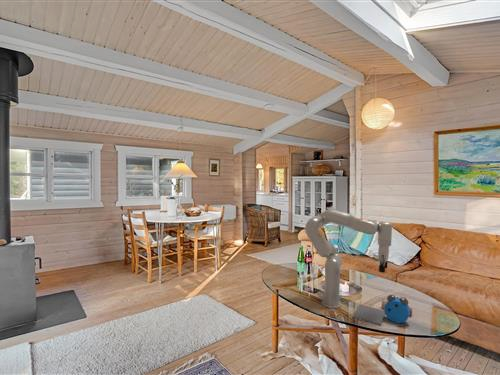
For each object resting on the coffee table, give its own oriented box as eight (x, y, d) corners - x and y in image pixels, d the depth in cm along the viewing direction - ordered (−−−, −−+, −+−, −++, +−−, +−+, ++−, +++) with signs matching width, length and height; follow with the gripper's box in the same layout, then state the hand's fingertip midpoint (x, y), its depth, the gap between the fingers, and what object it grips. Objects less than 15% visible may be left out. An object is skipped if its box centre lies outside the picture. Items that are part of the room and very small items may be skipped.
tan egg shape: (380, 308, 193) (381, 301, 192) (382, 305, 197) (382, 298, 197) (389, 310, 190) (389, 303, 190) (390, 307, 194) (390, 300, 194)
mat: (352, 317, 180) (352, 316, 179) (359, 305, 196) (359, 304, 196) (380, 325, 171) (380, 324, 171) (386, 312, 188) (386, 310, 188)
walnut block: (404, 315, 184) (404, 309, 184) (404, 312, 188) (405, 306, 187) (411, 317, 182) (411, 310, 182) (411, 314, 185) (412, 308, 185)
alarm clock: (409, 322, 175) (410, 297, 175) (408, 326, 170) (409, 301, 169) (385, 315, 183) (386, 292, 182) (383, 319, 178) (384, 295, 177)
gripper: (380, 238, 191) (378, 265, 192) (375, 244, 176) (374, 272, 177) (393, 240, 187) (391, 267, 188) (389, 246, 172) (387, 275, 173)
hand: (383, 269), depth 182 cm, fingers open, 9 cm apart
